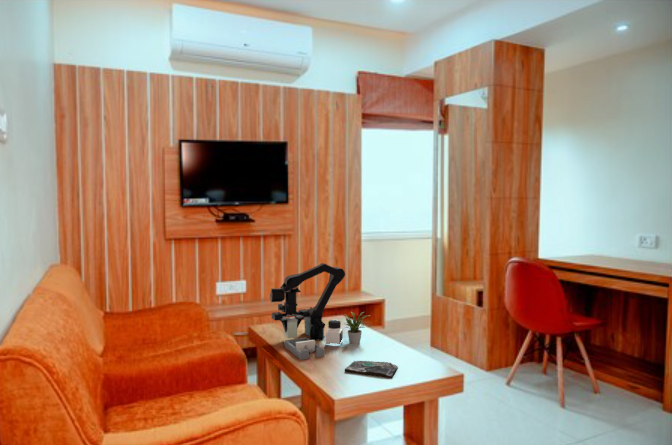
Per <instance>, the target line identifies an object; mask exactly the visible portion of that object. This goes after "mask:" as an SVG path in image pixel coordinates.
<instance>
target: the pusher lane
mask: <svg viewBox="0 0 672 445" xmlns="http://www.w3.org/2000/svg"><path fill="white" fill-rule="evenodd" d="M308 340H310V337H306V336H305V337H300V338H298V337H297V338H293V339H292V338H290V339H285V340H284V345H283V346H284V347H285V348H286V349H287V350H288V351H289V352H291V353H292V354H293V355H294V356H295V357H297V358H298V359H299V360H308V359H309V357H310V352H309V350H308V349H307V350H302V352H301V351H300V350H298V349H297V348H296V342H301V341H308ZM325 351H326V350H325V349H324V347H321V346H320V345H319V344H317V343H316V342H315V351H314V352H315V358H321V357H325V354H326V353H325Z"/></svg>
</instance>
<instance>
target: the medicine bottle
mask: <svg viewBox="0 0 672 445" xmlns="http://www.w3.org/2000/svg"><path fill="white" fill-rule="evenodd" d="M327 325H328V326H327V327H328V329H327V330H326V332H325V345H326V344H330V343H337V344H340V342H341V340H342V339H343V333H344V332H343V328H341V320H338V319H330V320H329V321H328V323H327Z"/></svg>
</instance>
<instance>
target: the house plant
mask: <svg viewBox="0 0 672 445" xmlns="http://www.w3.org/2000/svg"><path fill="white" fill-rule="evenodd" d="M350 313H351V315H352V317H353V318H352V319H351V318H350V316H349V315H348V314H346V313H344V315H345V320H346V323H345V327H344V329H345V328H348V330H347V336H348V342H349V345H352V346H353V345H354V346H357V345H360V343H361V339H362V330H361V328H366V327H365V326H366V324H362V322H363V321H364V319H365V318H367V317H370V316H371V315H363V314H364V311H363V312H362V311H361V312H360V314H358V316H357V318H356V314H355V312H353V311H351V312H350ZM361 316H362V317H361Z"/></svg>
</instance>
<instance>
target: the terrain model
mask: <svg viewBox="0 0 672 445" xmlns="http://www.w3.org/2000/svg"><path fill="white" fill-rule="evenodd" d="M398 369H399V367H398V365H396V364H393V363H392V362H389V361H388V362H387V361H372V360H371V361H370V360H353V362H351V363H350V364H348V366H346V368H344V373H346V374H355V375H362V376H371V377H378V378H384V379H385V378H386V379H390V380H392V379H393V377H394V375H395V373H396V372H397V371H398Z"/></svg>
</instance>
